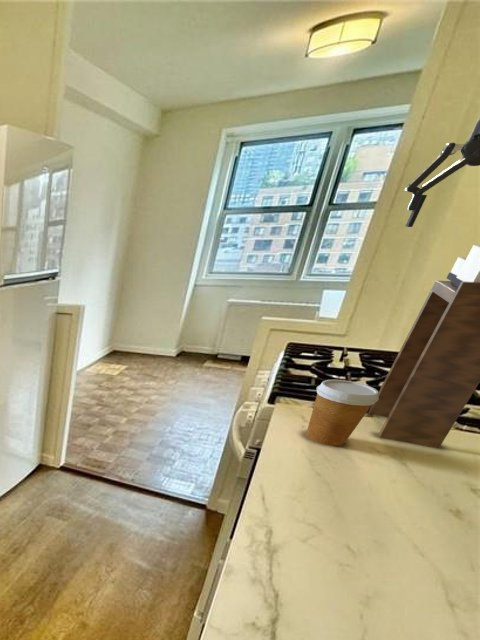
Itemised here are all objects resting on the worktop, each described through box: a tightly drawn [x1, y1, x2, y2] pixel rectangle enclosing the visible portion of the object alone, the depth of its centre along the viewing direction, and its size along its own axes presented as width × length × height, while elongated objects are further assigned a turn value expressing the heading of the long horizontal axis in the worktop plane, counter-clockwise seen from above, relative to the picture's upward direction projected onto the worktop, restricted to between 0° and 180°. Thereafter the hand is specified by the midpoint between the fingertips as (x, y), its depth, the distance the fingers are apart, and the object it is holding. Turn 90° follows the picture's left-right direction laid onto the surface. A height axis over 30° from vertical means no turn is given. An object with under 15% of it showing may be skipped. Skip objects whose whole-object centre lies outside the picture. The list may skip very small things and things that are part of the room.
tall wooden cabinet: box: [368, 280, 480, 449], centre depth 98 cm, size 9×16×32 cm, turn 145°
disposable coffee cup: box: [305, 379, 379, 447], centre depth 100 cm, size 10×10×12 cm
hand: (450, 227), depth 108 cm, fingers open, 13 cm apart
